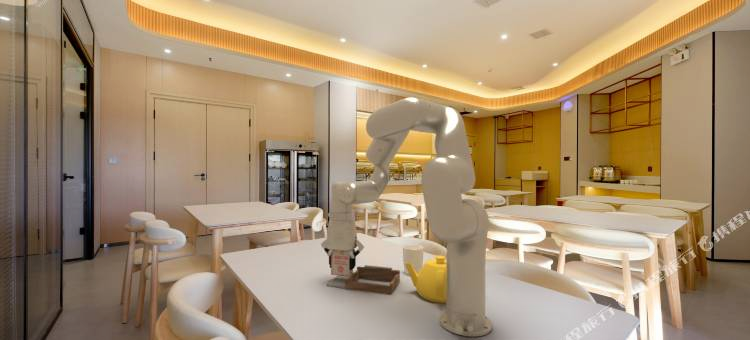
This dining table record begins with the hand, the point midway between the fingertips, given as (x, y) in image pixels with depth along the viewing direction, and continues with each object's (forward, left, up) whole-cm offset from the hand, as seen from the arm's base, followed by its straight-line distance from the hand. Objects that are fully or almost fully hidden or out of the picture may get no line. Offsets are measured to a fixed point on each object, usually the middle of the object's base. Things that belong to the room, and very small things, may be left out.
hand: (342, 267), depth 111 cm
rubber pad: (0, 0, -5) cm, 5 cm away
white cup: (+17, -22, -5) cm, 28 cm away
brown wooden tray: (0, -11, -5) cm, 12 cm away
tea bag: (0, 0, -3) cm, 3 cm away
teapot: (-1, -34, -5) cm, 34 cm away
